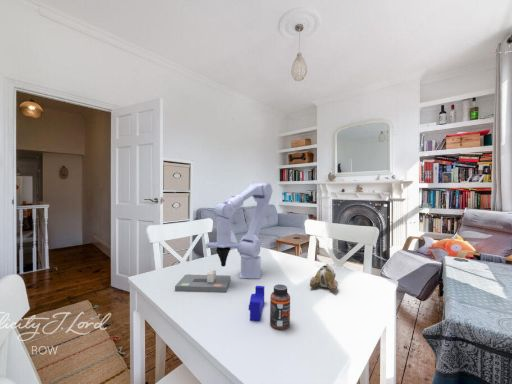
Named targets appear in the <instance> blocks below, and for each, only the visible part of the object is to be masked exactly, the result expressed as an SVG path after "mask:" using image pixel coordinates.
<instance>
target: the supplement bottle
mask: <svg viewBox="0 0 512 384" xmlns="http://www.w3.org/2000/svg"><path fill="white" fill-rule="evenodd" d="M269 299H270V302H269V303H270V304H269V305H270V306H269V307H270V309H269V324H270V326H271V327H273V329H277V330H284V329H287V328H289V327H290V324H291V323H290V322H291V295H290V294H289V293H288V286H287V285H285V284H281V283H280V284H279V283H278V284H275V285H274V286H273V292H271V293H270V298H269Z"/></svg>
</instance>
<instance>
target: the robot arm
mask: <svg viewBox="0 0 512 384" xmlns="http://www.w3.org/2000/svg"><path fill="white" fill-rule="evenodd" d="M272 195H273V188H272V185H271V184H270V183H269V182H252V183H251V184H249V185H248V187H247V188H246V189H245V190H243V191H242V192H241V193H239V194H232V195H231V196H230V198H228V199H226V200H224V201H223V203H218V204H216V206H215V207H214V209H213V215H214V216H215V220H216V241H213V242H206V243H205V249H216V253H217V256H218V258H219V260H220V261H219V262H220V265H221V267H226V266H227V265H226V264H227V260H228V256H229V253H230V251H231V249H236V250H237V252H238V254H239V256H240V271H239V272H240V273H239V275H238V278H239V279H261V273H262V268H261V266H262V265H261V262H262V260H261V259H262V257H261V256H260V253H261V246H262V242H261V240H260V239H259V235H260V233H261V229H262V227H263V226H262V225H263V223H264V221H265V220H264V219H265V216H266V213H267V211H268V207H269V203H270V201H271V199H272ZM251 197H252V198H253V200H254V202H256V206H255V208H254V212H253V214H252V218H251V221H250V224H249V227H248V229H247V233H246V234H244V235H243V236H241V239H240V240H239V242H231V241H232V239H231V237H232V235H231V234H232V229H231V228H232V227H231V225H232V224H231V223H232V221H231V220H232V217H234V213H235V212H236V211H237V210H239V208H241V207H243V205H244V202H245V201H247V200H248V199H250V198H251Z"/></svg>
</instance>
